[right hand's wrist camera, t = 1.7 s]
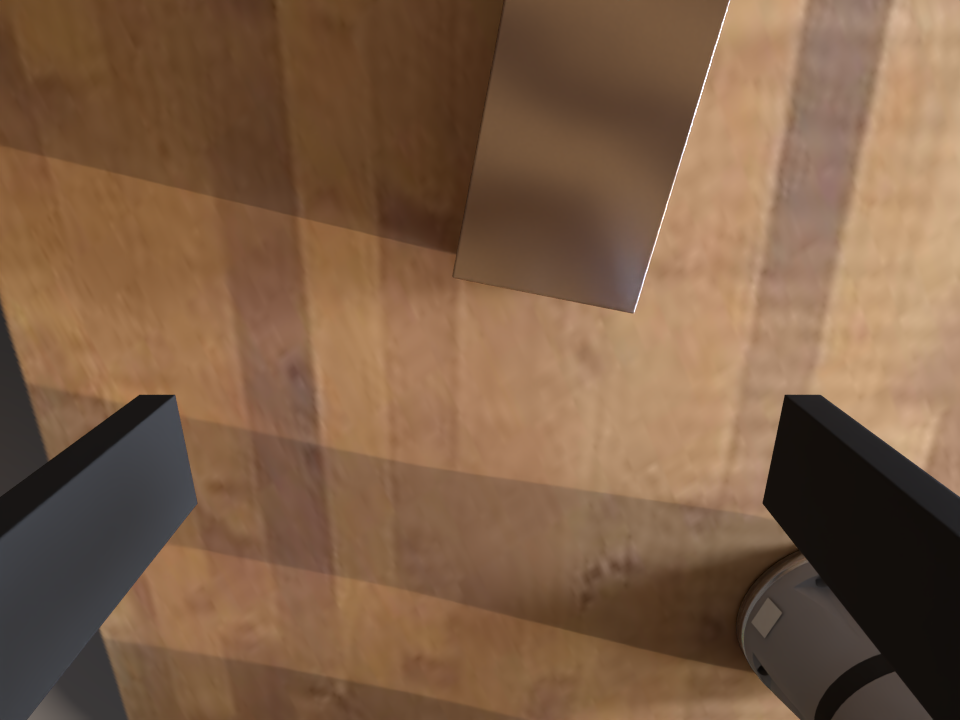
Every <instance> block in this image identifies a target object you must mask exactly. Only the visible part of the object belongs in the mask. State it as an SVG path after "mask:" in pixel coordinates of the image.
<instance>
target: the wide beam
mask: <svg viewBox="0 0 960 720" xmlns="http://www.w3.org/2000/svg"><path fill="white" fill-rule="evenodd" d="M729 3H730V0H504V3H503V9H502V14H501V19H500V25H499V30H498V35H497V41H496V46H495V51H494V57H493V62H492V67H491V73H490V78H489V83H488V89H487V94H486V99H485V105H484V110H483V115H482V121H481V126H480V131H479V137H478V142H477V147H476V153H475V158H474V163H473V169H472V174H471V180H470V185H469V190H468V196H467V201H466V206H465V212H464V217H463V222H462V228H461V233H460V238H459V244H458V249H457V254H456V260H455V265H454V270H453V278H457V279H462V280H467V281H472V282H477V283H482V284H487V285H492V286H497V287H502V288H507V289H512V290H517V291H522V292H527V293H532V294H537V295H542V296H547V297H552V298H558V299H563V300H568V301H573V302H578V303H583V304H588V305H593V306H598V307H603V308H608V309H613V310H618V311H623V312H628V313H634V312H635V309H636V306H637V302H638V299H639V296H640V293H641V289H642V286H643V283H644V280H645V276H646V273H647V270H648V267H649V263H650V260H651V257H652V253H653V250H654V247H655V244H656V240H657V237H658V234H659V231H660V227H661V224H662V221H663V218H664V214H665V211H666V208H667V205H668V201H669V198H670V195H671V192H672V188H673V185H674V182H675V179H676V175H677V172H678V169H679V166H680V162H681V159H682V156H683V152H684V149H685V146H686V143H687V139H688V136H689V133H690V130H691V126H692V123H693V120H694V117H695V113H696V110H697V107H698V104H699V100H700V97H701V94H702V91H703V87H704V84H705V81H706V78H707V74H708V71H709V68H710V65H711V61H712V58H713V55H714V51H715V48H716V45H717V42H718V38H719V35H720V32H721V29H722V25H723V22H724V19H725V16H726V12H727V9H728V6H729Z"/></svg>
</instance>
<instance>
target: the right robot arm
mask: <svg viewBox="0 0 960 720" xmlns="http://www.w3.org/2000/svg"><path fill="white" fill-rule="evenodd" d="M196 505H197V499H196V494H195V489H194V484H193V479H192V474H191V470H190V465H189V460H188V455H187V450H186V445H185V440H184V435H183V431H182V426H181V421H180V416H179V411H178V406H177V401H176V397H175V395H139V396H137V397H136V398H135V399H133V400H132V401H131V402H129V403H128V404H126V405H125V406H124V407H122V408H121V409H120V410H118V411H117V412H116V413H114V414H113V415H111V416H110V417H109V418H107V419H106V420H105V421H103V422H102V423H101V424H99V425H98V426H96V427H95V428H94V429H92V430H91V431H90V432H88V433H87V434H86V435H84V436H83V437H81V438H80V439H79V440H77V441H76V442H75V443H73V444H72V445H71V446H69V447H68V448H66V449H65V450H64V451H62V452H61V453H60V454H58V455H57V456H56V457H54V458H53V459H51V460H50V461H49V462H47V463H46V464H45V465H43V466H42V467H41V468H39V469H38V470H37V471H35V472H34V473H32V474H31V475H30V476H28V477H27V478H26V479H24V480H23V481H22V482H20V483H19V484H17V485H16V486H15V487H13V488H12V489H11V490H9V491H8V492H7V493H5V494H4V495H2V496H1V497H0V720H27V719H28V718H29V716H30V715H31V714H32V713H33V711H34V710H35V709H36V708H37V706H38V705H39V704H40V702H41V701H42V700H43V699H44V697H45V696H46V695H47V694H48V692H49V691H50V690H51V689H52V687H53V686H54V685H55V683H56V682H57V681H58V680H59V678H60V677H61V676H62V675H63V673H64V672H65V671H66V669H67V668H68V667H69V666H70V664H71V663H72V662H73V661H74V659H75V658H76V657H77V655H78V654H79V653H80V652H81V650H82V649H83V648H84V647H85V645H86V644H87V643H88V642H89V640H90V639H91V638H92V637H93V635H94V634H95V633H96V631H97V630H98V629H99V628H100V626H101V625H102V624H103V623H104V621H105V620H106V619H107V617H108V616H109V615H110V614H111V612H112V611H113V610H114V609H115V607H116V606H117V605H118V604H119V602H120V601H121V600H122V598H123V597H124V596H125V595H126V593H127V592H128V591H129V590H130V588H131V587H132V586H133V585H134V583H135V582H136V581H137V579H138V578H139V577H140V576H141V574H142V573H143V572H144V571H145V569H146V568H147V567H148V565H149V564H150V563H151V562H152V560H153V559H154V558H155V557H156V555H157V554H158V553H159V552H160V550H161V549H162V548H163V546H164V545H165V544H166V543H167V541H168V540H169V539H170V538H171V536H172V535H173V534H174V533H175V531H176V530H177V529H178V527H179V526H180V525H181V524H182V522H183V521H184V520H185V519H186V517H187V516H188V515H189V513H190V512H191V511H192V510H193V508H194V507H195V506H196ZM763 505H764V506H765V507H766V508H767V510H768V511H769V512H770V513H771V515H772V516H773V517H774V519H775V520H776V521H777V522H778V524H779V525H780V526H781V527H782V529H783V530H784V531H785V533H786V534H787V535H788V536H789V538H790V539H791V540H792V541H793V543H794V544H795V545H796V546H797V548H798V549H799V551H797V552H795V553H793V554H791V555H789V556H787V557H785V558H783V559H782V560H780V561H778V562H777V563H776V564H774V565H773V566H771V567H770V568H769V569H768V570H767V571H765V572H764V573H763V574H762V575H761V576H760V577H759V578H758V579H757V580H756V581H755V583H754V584H753V585H752V586H751V588H750V589H749V591H748V592H747V594H746V595H745V597H744V599H743V601H742V603H741V606H740V608H739V612H738V616H737V622H736V631H737V638H738V642H739V645H740V647H741V649H742V651H743V653H744V655H745V657H746V659H747V661H748V663H749V664H750V666H751V668H752V669H753V671H754V672H755V673H756V675H757V676H758V677H759V679H760V680H761V681H762V682H763V683H764V684H765V685H766V686H767V687H768V688H769V689H770V690H771V691H772V692H773V693H774V694H775V695H776V696H777V697H778V698H779V699H780V700H781V701H782V702H783V703H784V704H785V705H786V706H787V707H788V708H789V709H790V710H791V711H792V712H793V713H794V714H795V715H796V716H797V717H798V718H799V719H800V720H960V497H959V496H958V495H956V494H955V493H953V492H952V491H951V490H949V489H948V488H947V487H945V486H944V485H943V484H941V483H940V482H938V481H937V480H936V479H934V478H933V477H932V476H930V475H929V474H928V473H926V472H925V471H924V470H922V469H921V468H919V467H918V466H917V465H915V464H914V463H913V462H911V461H910V460H909V459H907V458H906V457H904V456H903V455H902V454H900V453H899V452H898V451H896V450H895V449H894V448H892V447H891V446H889V445H888V444H887V443H885V442H884V441H883V440H881V439H880V438H879V437H877V436H876V435H874V434H873V433H872V432H870V431H869V430H868V429H866V428H865V427H864V426H862V425H861V424H859V423H858V422H857V421H855V420H854V419H853V418H851V417H850V416H849V415H847V414H846V413H844V412H843V411H842V410H840V409H839V408H838V407H836V406H835V405H834V404H832V403H831V402H829V401H828V400H827V399H825V398H824V397H823V396H821V395H785V397H784V401H783V406H782V411H781V416H780V421H779V426H778V431H777V435H776V440H775V445H774V450H773V455H772V460H771V465H770V470H769V474H768V479H767V484H766V489H765V494H764V499H763Z"/></svg>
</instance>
